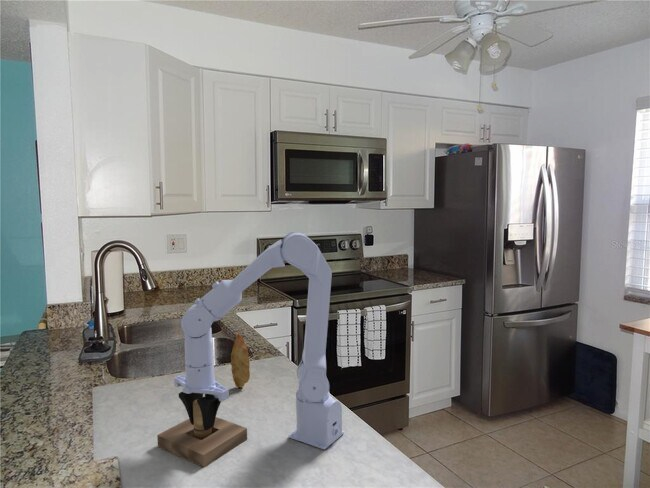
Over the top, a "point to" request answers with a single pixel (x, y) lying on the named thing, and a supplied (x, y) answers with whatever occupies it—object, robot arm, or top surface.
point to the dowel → (199, 423)
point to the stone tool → (240, 362)
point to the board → (202, 441)
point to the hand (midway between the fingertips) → (202, 425)
